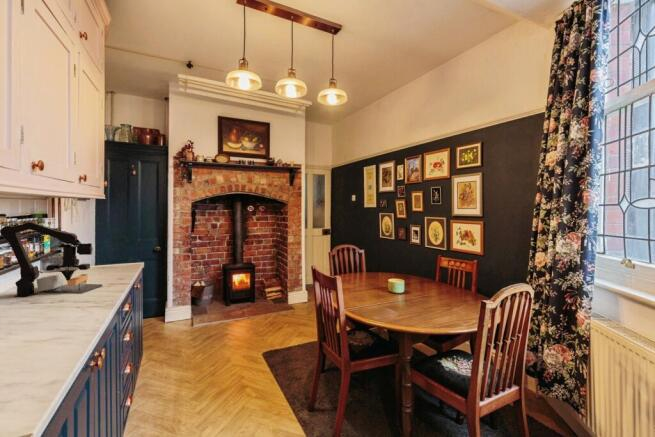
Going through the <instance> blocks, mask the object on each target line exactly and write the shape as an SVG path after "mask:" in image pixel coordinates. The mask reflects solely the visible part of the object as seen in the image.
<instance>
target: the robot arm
mask: <svg viewBox="0 0 655 437" xmlns="http://www.w3.org/2000/svg"><path fill="white" fill-rule="evenodd" d="M28 230H31V231H34V232H37V233H40V234H43V235H46V236H49V237H53V238H55V239H56V240H58V241H60V242H62V243H61V244H60V245H59V246H58V248H60V249H61V248H62V256H61V259H62V264H59V263H51V264H48V265H47V266H46V267H45V270H46V271H54V270H57V269H59V273H61V274H62V276H63V277H64V278H65V280H66V281H67V280H70V279H72V277H73V275H74V273H75V272H76V271H78V269H79V271H87V270H89V269H91V264H90V263H80V259H79V258H78V257H77V254H78V255H79V256H82V255H83V256H84V255H85V256H88V255H92V254H93V245H92V243H91V242H88V243H82V242H81V241H80V240H79V238H78V236H77V234H76V233H74V232H67V231H60V230H57V229H55V228H54V229H53V228H51V227H48V226H45V225H42V224H39V223H37V222H35V221H27V222H25V223H22V224H18V225H5V226H3V227H2V228H1V229H0V234H1V236H2V237H3V239H4V240H5V241H6V242H8V243H9V246H10V248H11V250H12V252H13V254H14V256H15V259H16V261H17V262H18V265H19V267H20V269H19V271H20V272H19V274H20V278H19V279H18V280H17V281H16V282H15V284H14V285H15V286H16V294H15V295H13V296H14V298H15V297H17V298H18V297H19V298H27V297H30V296H34V295H37V292H35V283H34V282H35V280H37V279H39V276H40V273H41V271H40V269H39V267H38V265H35V266H34V265H33V264H32V263H31V261H30V258H29V256H28V254H27V251H26V249H25V247H24V244H23V243H22V233H23V232H25V231H28Z"/></svg>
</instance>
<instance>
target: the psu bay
mask: <svg viewBox="0 0 655 437" xmlns="http://www.w3.org/2000/svg"><path fill="white" fill-rule="evenodd" d="M102 287H103V284H101V283H99V284H98V283H87V280H86V281H84V282H82V283H80V284H78V285H74V286H67V283H66V284H64V285H62V286H60V287H57V288H55V289H51V290H46V293H48V294H50V293H51V294H52V293H53V294H85V293H88V292H90V291H92V290H96V289H99V288H102Z"/></svg>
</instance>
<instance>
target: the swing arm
mask: <svg viewBox="0 0 655 437" xmlns="http://www.w3.org/2000/svg"><path fill="white" fill-rule="evenodd" d="M88 278H89V276H88V273H86V274H85V273H83V274H79V275H77V276H75V277H73V278H72V277H71V279H70V280H66V281H67V283H66V284H67V286H74V285H78V284H80V283H82V282H84V281H86V282H87V281H88Z"/></svg>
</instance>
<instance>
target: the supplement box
mask: <svg viewBox="0 0 655 437" xmlns="http://www.w3.org/2000/svg"><path fill="white" fill-rule="evenodd" d="M63 285H65V284H64V275H63V274H62V273H57V274H51V275H50V274H49V275H46V276H42V277H40V278H39V277H38V278H37V279H36V286H37V292H43V291H44V292H45V291H47V290H51V289H55V288H57V287H60V286H63Z"/></svg>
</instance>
